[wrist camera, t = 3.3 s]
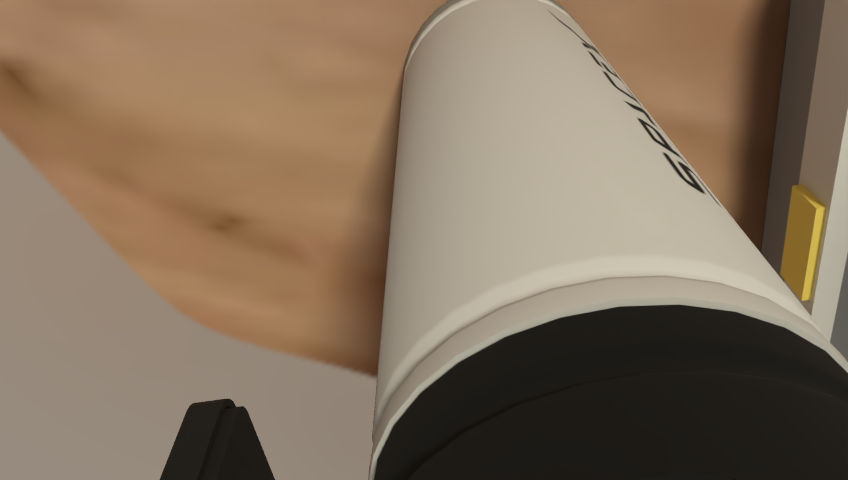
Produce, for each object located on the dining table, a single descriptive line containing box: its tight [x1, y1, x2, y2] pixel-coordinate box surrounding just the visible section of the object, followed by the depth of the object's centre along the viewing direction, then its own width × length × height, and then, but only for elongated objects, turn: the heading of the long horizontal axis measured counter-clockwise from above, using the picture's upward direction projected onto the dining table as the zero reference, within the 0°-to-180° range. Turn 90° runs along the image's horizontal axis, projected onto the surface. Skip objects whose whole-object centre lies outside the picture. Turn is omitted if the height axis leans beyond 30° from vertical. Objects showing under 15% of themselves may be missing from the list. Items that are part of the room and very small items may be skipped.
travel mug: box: [368, 0, 848, 480], centre depth 14 cm, size 6×7×20 cm
